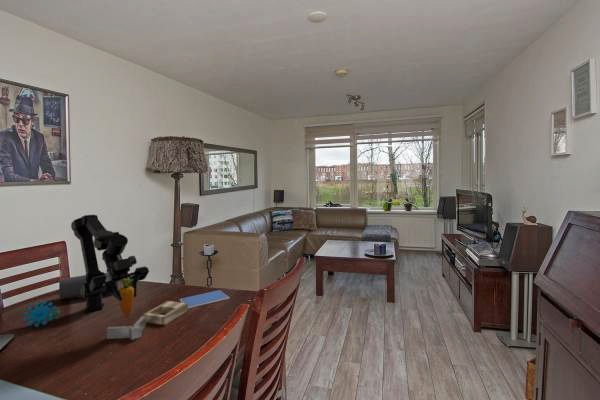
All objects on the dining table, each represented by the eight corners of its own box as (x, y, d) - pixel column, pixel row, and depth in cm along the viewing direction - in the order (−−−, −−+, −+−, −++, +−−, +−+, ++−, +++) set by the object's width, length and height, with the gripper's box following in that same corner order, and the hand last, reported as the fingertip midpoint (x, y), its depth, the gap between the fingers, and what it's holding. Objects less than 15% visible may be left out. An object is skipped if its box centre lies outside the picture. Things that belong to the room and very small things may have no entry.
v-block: (105, 337, 111) (105, 328, 111) (144, 324, 122) (144, 315, 121) (116, 346, 106) (115, 335, 105) (156, 331, 116) (155, 321, 116)
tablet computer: (187, 310, 136) (187, 307, 136) (178, 301, 146) (178, 298, 146) (230, 300, 147) (230, 297, 147) (219, 292, 157) (219, 289, 157)
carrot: (127, 314, 119) (126, 274, 117) (138, 316, 117) (136, 275, 116) (116, 320, 114) (114, 278, 113) (127, 322, 112) (125, 280, 111)
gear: (18, 326, 117) (28, 300, 123) (21, 332, 121) (31, 307, 127) (55, 324, 121) (62, 299, 128) (57, 331, 125) (64, 306, 131)
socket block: (143, 321, 124) (143, 314, 123) (167, 307, 137) (167, 300, 137) (165, 325, 121) (164, 317, 121) (187, 310, 134) (187, 303, 134)
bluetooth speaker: (117, 288, 162) (117, 268, 161) (118, 294, 154) (117, 273, 153) (62, 296, 150) (60, 275, 150) (59, 303, 142) (58, 281, 142)
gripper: (90, 254, 109) (104, 293, 103) (146, 245, 123) (161, 279, 117) (83, 272, 114) (96, 311, 108) (137, 262, 129) (151, 295, 123)
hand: (128, 298), depth 114 cm, fingers closed on carrot, 5 cm apart
